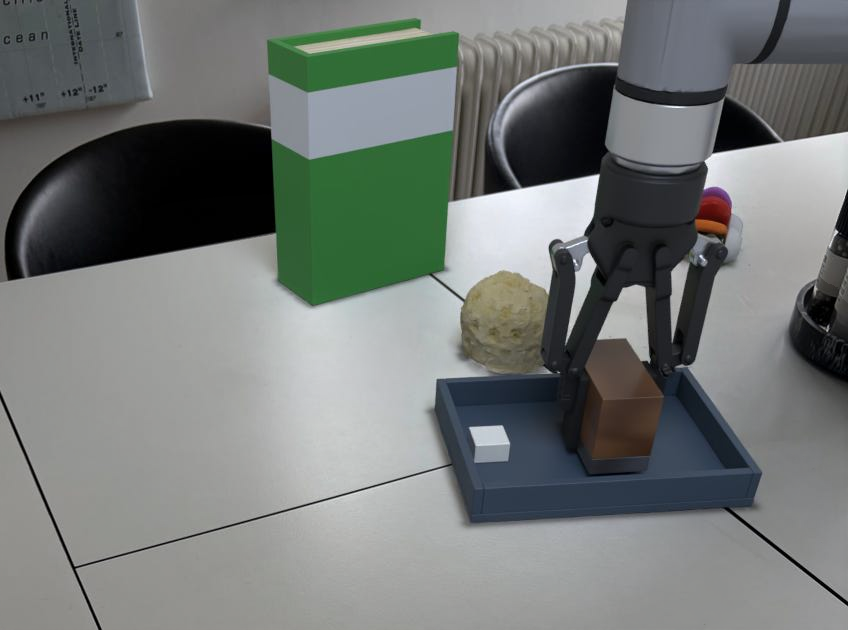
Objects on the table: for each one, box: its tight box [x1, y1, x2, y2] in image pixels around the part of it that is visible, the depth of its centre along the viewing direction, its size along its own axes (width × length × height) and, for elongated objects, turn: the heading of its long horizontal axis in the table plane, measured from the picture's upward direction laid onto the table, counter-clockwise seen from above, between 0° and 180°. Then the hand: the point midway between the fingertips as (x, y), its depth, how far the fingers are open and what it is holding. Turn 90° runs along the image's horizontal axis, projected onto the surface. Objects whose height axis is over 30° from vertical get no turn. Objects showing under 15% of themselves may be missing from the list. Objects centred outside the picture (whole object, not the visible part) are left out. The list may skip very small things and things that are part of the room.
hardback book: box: [266, 17, 460, 307], centre depth 110 cm, size 18×7×24 cm, turn 124°
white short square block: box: [468, 425, 510, 463], centre depth 89 cm, size 3×3×2 cm
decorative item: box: [459, 269, 549, 375], centre depth 102 cm, size 10×10×10 cm
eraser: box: [559, 337, 664, 474], centre depth 88 cm, size 5×10×7 cm, turn 7°
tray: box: [434, 366, 763, 524], centre depth 90 cm, size 24×18×3 cm
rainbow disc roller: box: [687, 186, 744, 264], centre depth 122 cm, size 8×10×7 cm
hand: (601, 438), depth 90 cm, fingers closed on eraser, 5 cm apart
